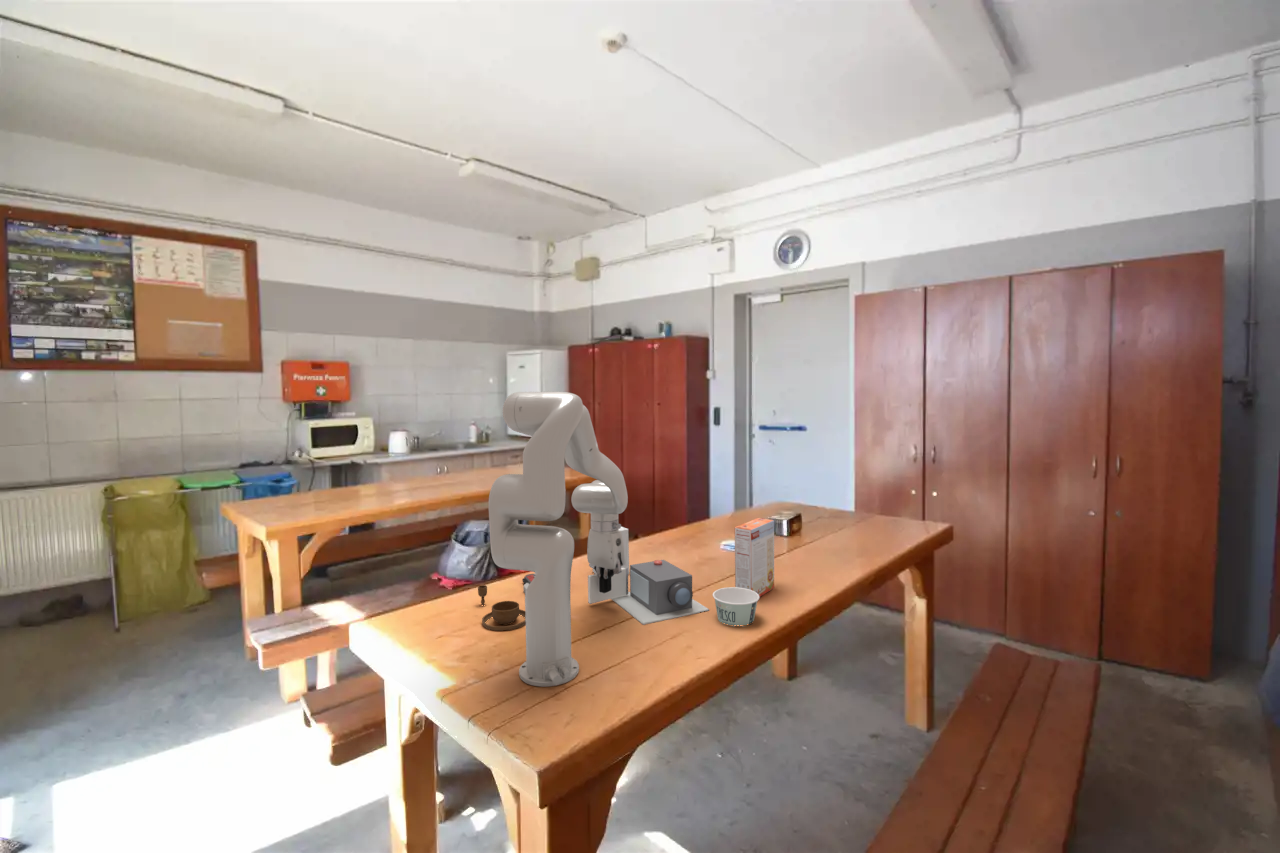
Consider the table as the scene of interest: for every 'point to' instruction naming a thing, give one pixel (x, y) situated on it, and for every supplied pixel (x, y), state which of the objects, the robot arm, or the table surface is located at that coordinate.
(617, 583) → the side door
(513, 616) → the place setting
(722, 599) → the food container
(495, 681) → the table surface
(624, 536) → the supplement box
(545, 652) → the robot arm
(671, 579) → the camera box
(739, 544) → the cracker box
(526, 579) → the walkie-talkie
